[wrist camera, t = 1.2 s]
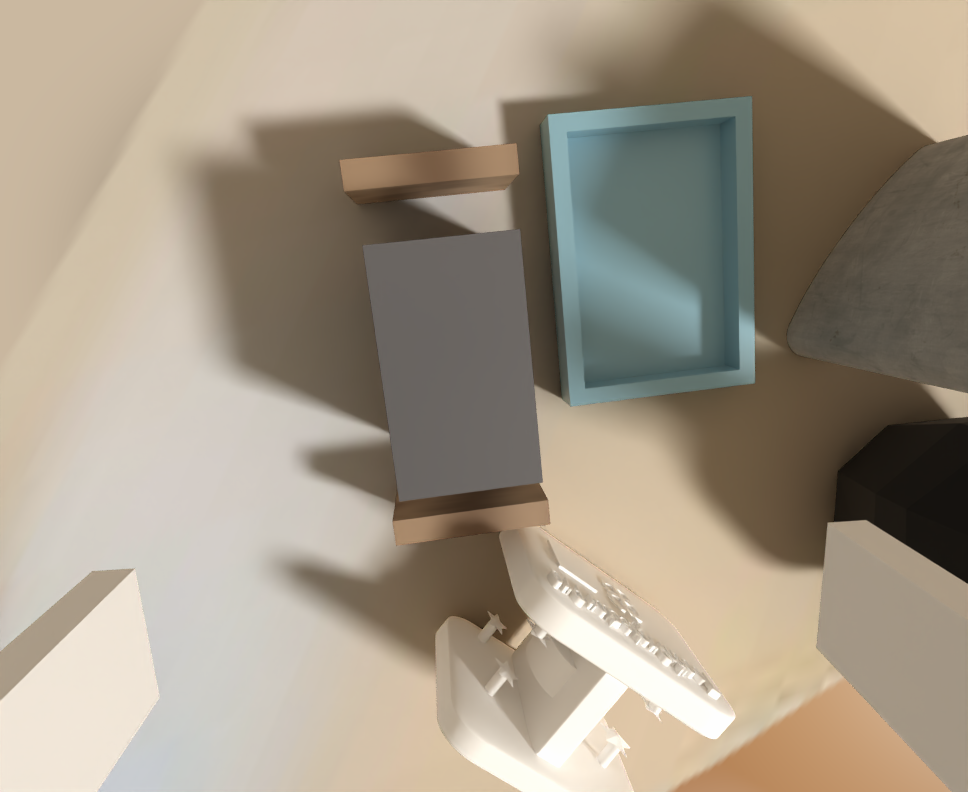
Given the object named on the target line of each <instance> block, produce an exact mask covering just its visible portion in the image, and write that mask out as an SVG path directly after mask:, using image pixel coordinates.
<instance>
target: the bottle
mask: <svg viewBox="0 0 968 792" xmlns="http://www.w3.org/2000/svg"><path fill="white" fill-rule="evenodd" d="M860 520H867V521H868V522H870V523H871V524H873V525H875V526H876V527H878V528H879V529H881V530H883V531H884V532H886V533H887V534H889V535H891V536H892V537H894V538H895V539H897V540H898V541H900V542H902V543H903V544H905V545H906V546H908V547H910V548H911V549H913V550H914V551H916V552H918V553H919V554H921V555H922V556H924V557H926V558H927V559H929V560H930V561H932V562H933V563H935V564H937V565H938V566H940V567H941V568H943V569H945V570H946V571H948V572H949V573H951V574H953V575H954V576H956V577H957V578H959V579H961V580H962V581H964V582H965V583H967V584H968V417H964V418H952V419H943V420H934V421H924V422H915V423H906V424H897V425H888V426H887V427H886V428H884V429H883V430H882V431H881V432H880V433H879V434H878V435H877V436H876V437H875V438H874V439H873V440H872V441H870V442H869V443H868V444H867V445H866V446H865V447H864V448H863V449H862V450H861V451H860V452H859V453H858V454H856V455H855V456H854V457H853V458H852V459H851V460H850V461H849V462H848V463H847V464H846V465H845V466H844V467H842V468H841V469H840V470H839V471H838V479H837V492H836V504H835V517H834V522H845V521H860Z"/></svg>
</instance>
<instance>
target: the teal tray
mask: <svg viewBox="0 0 968 792" xmlns="http://www.w3.org/2000/svg"><path fill="white" fill-rule="evenodd" d="M540 134H541V146H542V159H543V171H544V183H545V196H546V208H547V221H548V233H549V246H550V258H551V271H552V283H553V296H554V308H555V321H556V333H557V345H558V358H559V370H560V383H561V395H562V399H563V400H564V401H565V402H566V403H567V404H568V405H569V406H579V405H587V404H595V403H603V402H611V401H618V400H626V399H634V398H642V397H650V396H658V395H666V394H674V393H682V392H690V391H698V390H706V389H714V388H722V387H730V386H738V385H746V384H754V383H755V324H754V230H753V137H752V96H747V97H736V98H725V99H714V100H703V101H692V102H681V103H670V104H659V105H648V106H637V107H626V108H615V109H604V110H593V111H582V112H571V113H560V114H549V115H547V116H546V118H545V119H544V120H543V122H542V123H541V124H540Z"/></svg>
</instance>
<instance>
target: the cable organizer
mask: <svg viewBox="0 0 968 792" xmlns="http://www.w3.org/2000/svg"><path fill="white" fill-rule="evenodd" d="M499 539H500V543H501V547H502V550H503V554H504V558H505V561H506V565H507V569H508V573H509V576H510V580H511V584H512V587H513V591H514V595H515V598H516V600H517V602H518V604H519V605H520V607H521V608H522V610H523V611H524V612H525V613H526V614H527V615H528V617H529V618H530V619H531V620H532V621H533V622H534V623H535V624H536V625H534V624H533V623H532V622H530V621H529V620H528V619H527V618H526V619H527V620H528V622H529V624H530V625H531V627H532V631H531V632H530V633H529V634H528V635H527V637H526V638H525V639H524V640H523V642H522V643H521V644H520V645H519V646H518V648H517V649H516V650H514V649H512V648H510V647H509V646H507V645H506V644H504V643H503V642H501V641H500V640H498V639H496V638H495V637H493V636H492V634H493V633H494V632H495V631H496V629H498V630H499V632H500V633H501V634H502V629H507V628H506V627H505V626H504V625H503V624H502V623H501V622H500V619H499V616H498V614H497V615H495V616H494V615H492V614H491V613H490V612H489V611H487V612H488V614H489V616H490V617H491V619H490V621H489V622H488V623H487V624H486V626H485V627H484V628H483V629H481V628H479V627H478V626H476V625H475V624H473V623H471V622H470V621H468V620H466V619H464V618H461V617H457V616H450V617H448V618H447V620H446V621H445V622H444V623H443V625H442V626H441V627H440V628H439V630H438V631H437V632H436V634H435V650H436V695H437V721H438V724H439V727H440V729H441V731H442V733H443V735H444V736H445V738H446V739H447V740H448V742H449V743H450V744H451V745H452V746H453V748H454V749H455V750H457V751H458V752H459V753H460V754H461V755H462V756H463V757H465V758H466V759H467V760H469V761H470V762H472V763H474V764H475V765H477V766H479V767H480V768H482V769H484V770H486V771H487V772H489V773H491V774H492V775H494V776H496V777H498V778H499V779H501V780H503V781H504V782H506V783H508V784H509V785H511V786H513V787H515V788H516V789H518V790H520V791H521V792H634V790H633V788H632V785H631V783H630V780H629V778H628V775H627V773H626V770H625V768H624V765H623V763H622V760H621V758H620V755H619V753H618V752H619V751H621V752H622V753H623V754H624V755H625V757H626V754H625V751H624V748H630V747H629V746H628V745H627V744H626V742H625V741H624V740H623V739H622V738H621V737H620V736H619V734H618V733H617V731H616V729H615V728H614V726H613V727H612V728H611V729H610V728H608V725H607V723H606V721H605V719H604V717H603V716H604V715H605V714H606V713H607V712H608V710H609V709H610V708H611V707H612V706H613V705H614V703H615V702H616V701H617V700H618V699H619V698H620V696H621V695H622V694H623V693H624V692H625V691H626V689H627V688H628V687H629V688H630V689H632V690H633V691H635V692H636V693H638V694H639V695H640V696H641V697H642V699H643V700H644V702H645V705H646V709H647V710H649V711H651V712H653V713H654V715H655V716H656V717H657V718H658V719H659V720H660V718H659V715H658V714H662V713H661V712H660V711H661V710H664V711H665V712H667V713H668V714H670V715H671V716H673V717H674V718H676V719H678V720H679V721H681V722H682V723H684V724H685V725H687V726H688V727H690V728H691V729H693V730H694V731H696V732H697V733H699V734H701V735H703V736H705V737H707V738H710V739H717V738H718V737H719V736H720V735H721V734H722V732H723V731H724V730H725V729H726V728H727V727H728V726H729V725H730V723H731V722H732V721H733V720H734V719H735V713H734V711H733V709H732V707H731V706H730V704H729V703H728V701H727V700H726V698H725V697H724V696H723V694H722V693H721V691H720V690H719V688H718V687H717V686H716V684H715V683H714V681H713V680H712V678H711V677H710V676H709V674H708V673H707V671H706V670H705V668H704V667H703V666H702V664H701V663H700V661H699V660H698V658H697V657H696V656H695V654H694V653H693V651H692V650H691V649H690V647H689V646H688V644H687V643H686V641H685V640H684V639H683V637H682V636H681V634H680V633H679V631H678V630H677V629H676V628H675V626H674V625H673V624H672V623H671V622H670V621H669V620H668V619H667V618H666V617H665V616H664V615H663V614H661V613H660V612H659V611H658V610H657V609H655V608H654V607H653V606H652V605H650V604H649V603H647V602H646V601H644V600H643V599H642V598H640V597H639V596H637V595H636V594H634V593H633V592H632V591H630V590H629V589H627V588H626V587H624V586H623V585H622V584H620V583H619V582H617V581H616V580H614V579H613V578H612V577H610V576H609V575H607V574H606V573H604V572H603V571H602V570H600V569H599V568H597V567H596V566H594V565H593V564H592V563H590V562H589V561H587V560H586V559H584V558H583V557H582V556H580V555H579V554H577V553H576V552H574V551H573V550H572V549H570V548H569V547H567V546H566V545H564V544H563V543H562V542H560V541H559V540H557V539H556V538H554V537H553V536H552V535H550V534H549V533H547V532H546V531H545V530H543V529H542V528H540V527H539V526H534V527H527V528H520V529H512V530H505V531H501V533H500V534H499ZM660 722H661V720H660ZM661 723H662V722H661ZM630 749H631V748H630ZM626 758H627V757H626Z"/></svg>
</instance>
